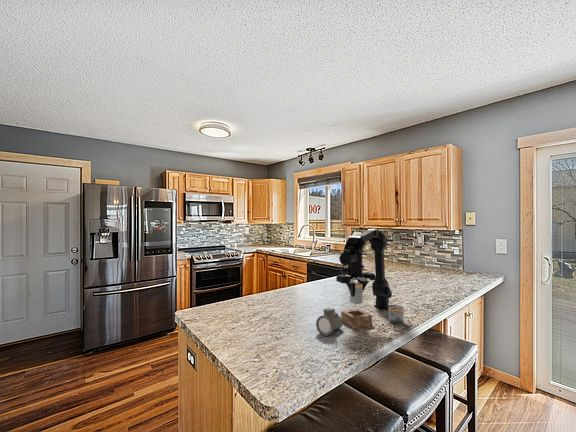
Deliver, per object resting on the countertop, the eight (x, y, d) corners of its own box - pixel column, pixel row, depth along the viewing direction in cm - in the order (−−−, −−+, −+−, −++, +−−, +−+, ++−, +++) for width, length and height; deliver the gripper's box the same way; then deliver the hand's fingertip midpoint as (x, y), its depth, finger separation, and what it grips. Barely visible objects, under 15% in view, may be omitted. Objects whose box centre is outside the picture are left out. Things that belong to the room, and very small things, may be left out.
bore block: (358, 317, 136) (358, 308, 136) (372, 324, 127) (372, 315, 127) (341, 320, 132) (341, 311, 132) (354, 328, 123) (354, 318, 123)
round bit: (396, 318, 135) (396, 304, 135) (407, 323, 129) (406, 308, 129) (385, 320, 132) (385, 305, 132) (396, 325, 126) (395, 310, 126)
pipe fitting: (331, 337, 112) (331, 311, 114) (315, 334, 118) (315, 309, 119) (346, 332, 121) (346, 308, 123) (331, 329, 126) (330, 305, 128)
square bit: (357, 300, 132) (357, 281, 132) (362, 303, 129) (362, 283, 129) (350, 301, 131) (349, 282, 131) (355, 304, 127) (355, 284, 127)
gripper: (361, 259, 141) (361, 289, 141) (329, 261, 133) (329, 294, 133) (376, 262, 131) (376, 295, 131) (343, 265, 123) (343, 300, 123)
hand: (356, 296), depth 130 cm, fingers closed on square bit, 4 cm apart
